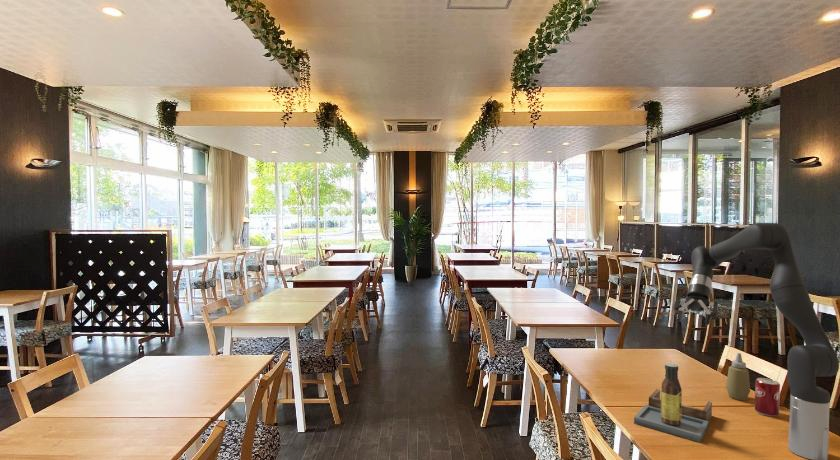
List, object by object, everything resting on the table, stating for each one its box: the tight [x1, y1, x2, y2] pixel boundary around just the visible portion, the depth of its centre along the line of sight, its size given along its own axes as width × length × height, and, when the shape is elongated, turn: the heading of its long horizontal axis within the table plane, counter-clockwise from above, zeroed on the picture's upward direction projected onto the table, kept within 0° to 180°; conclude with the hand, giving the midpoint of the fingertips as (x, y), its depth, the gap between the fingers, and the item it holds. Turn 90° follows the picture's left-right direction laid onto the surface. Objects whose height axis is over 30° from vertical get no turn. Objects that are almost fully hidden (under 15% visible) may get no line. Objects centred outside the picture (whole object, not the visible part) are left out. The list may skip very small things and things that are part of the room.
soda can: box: [754, 377, 781, 417], centre depth 169 cm, size 7×7×12 cm
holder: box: [648, 389, 713, 422], centre depth 168 cm, size 18×11×5 cm, turn 49°
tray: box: [633, 404, 709, 443], centre depth 158 cm, size 20×14×2 cm
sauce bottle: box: [660, 363, 683, 426], centre depth 158 cm, size 7×6×20 cm
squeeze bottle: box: [725, 352, 751, 401], centre depth 183 cm, size 8×8×18 cm
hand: (692, 322), depth 171 cm, fingers open, 8 cm apart
